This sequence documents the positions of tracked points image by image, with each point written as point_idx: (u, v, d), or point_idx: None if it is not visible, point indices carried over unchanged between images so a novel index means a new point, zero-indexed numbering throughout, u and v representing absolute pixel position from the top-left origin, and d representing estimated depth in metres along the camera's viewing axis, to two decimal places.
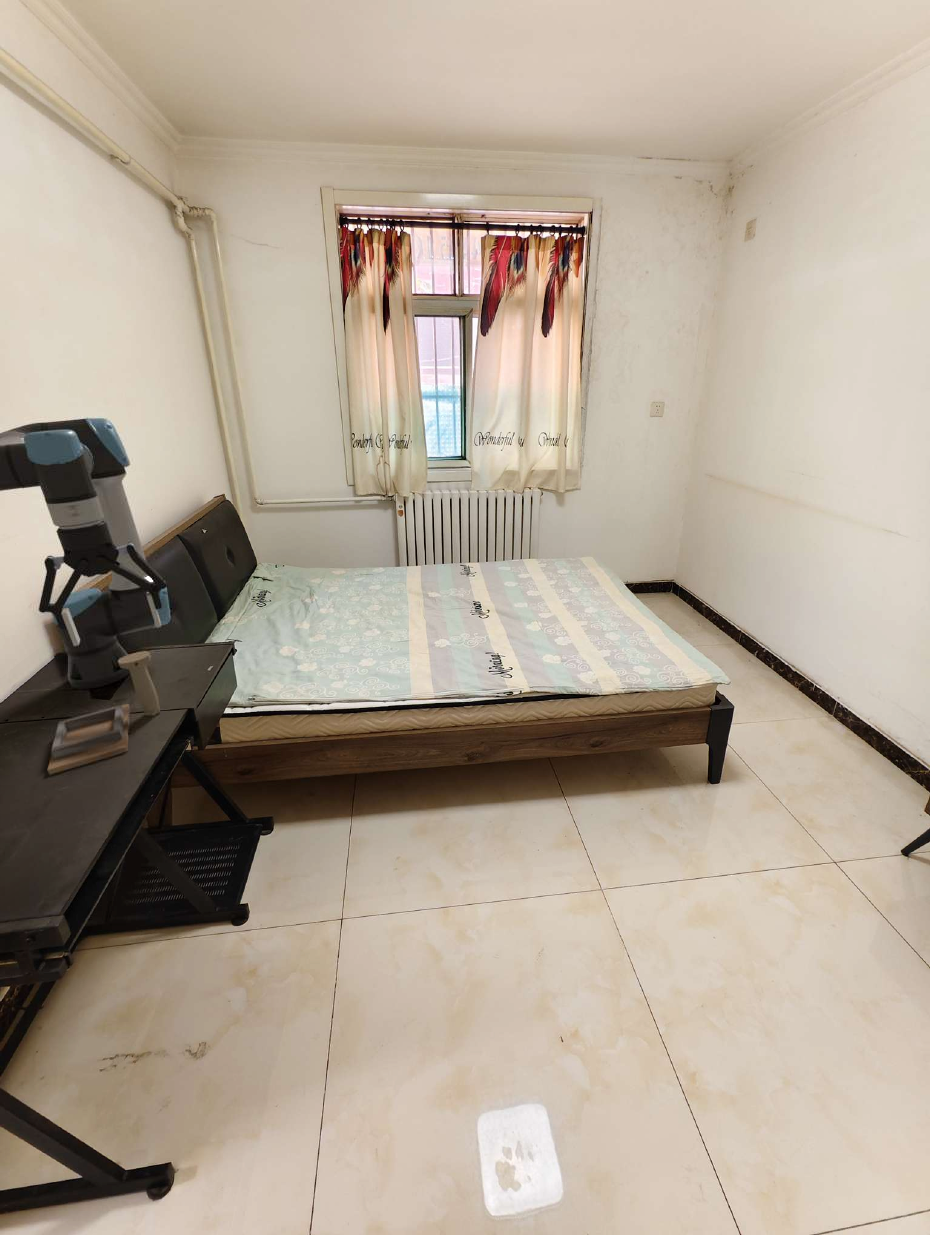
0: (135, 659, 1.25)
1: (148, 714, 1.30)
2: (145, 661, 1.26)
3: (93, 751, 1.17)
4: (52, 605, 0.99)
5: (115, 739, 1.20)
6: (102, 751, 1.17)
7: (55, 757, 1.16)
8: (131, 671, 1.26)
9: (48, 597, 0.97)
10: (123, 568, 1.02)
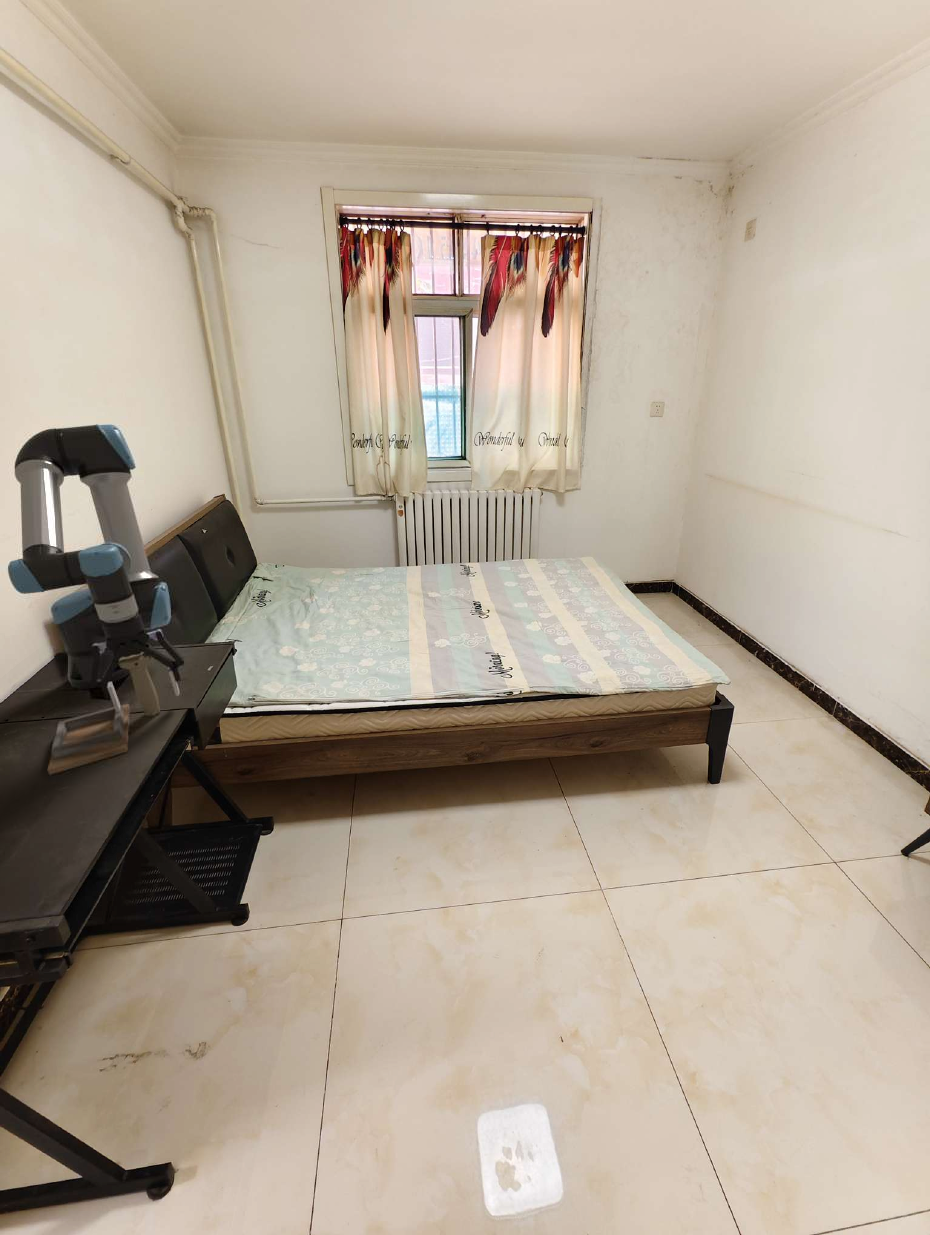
0: (135, 659, 1.25)
1: (148, 714, 1.30)
2: (145, 661, 1.26)
3: (93, 751, 1.17)
4: (100, 681, 1.24)
5: (115, 739, 1.20)
6: (102, 751, 1.17)
7: (55, 757, 1.16)
8: (131, 671, 1.26)
9: (96, 675, 1.22)
10: (152, 649, 1.27)
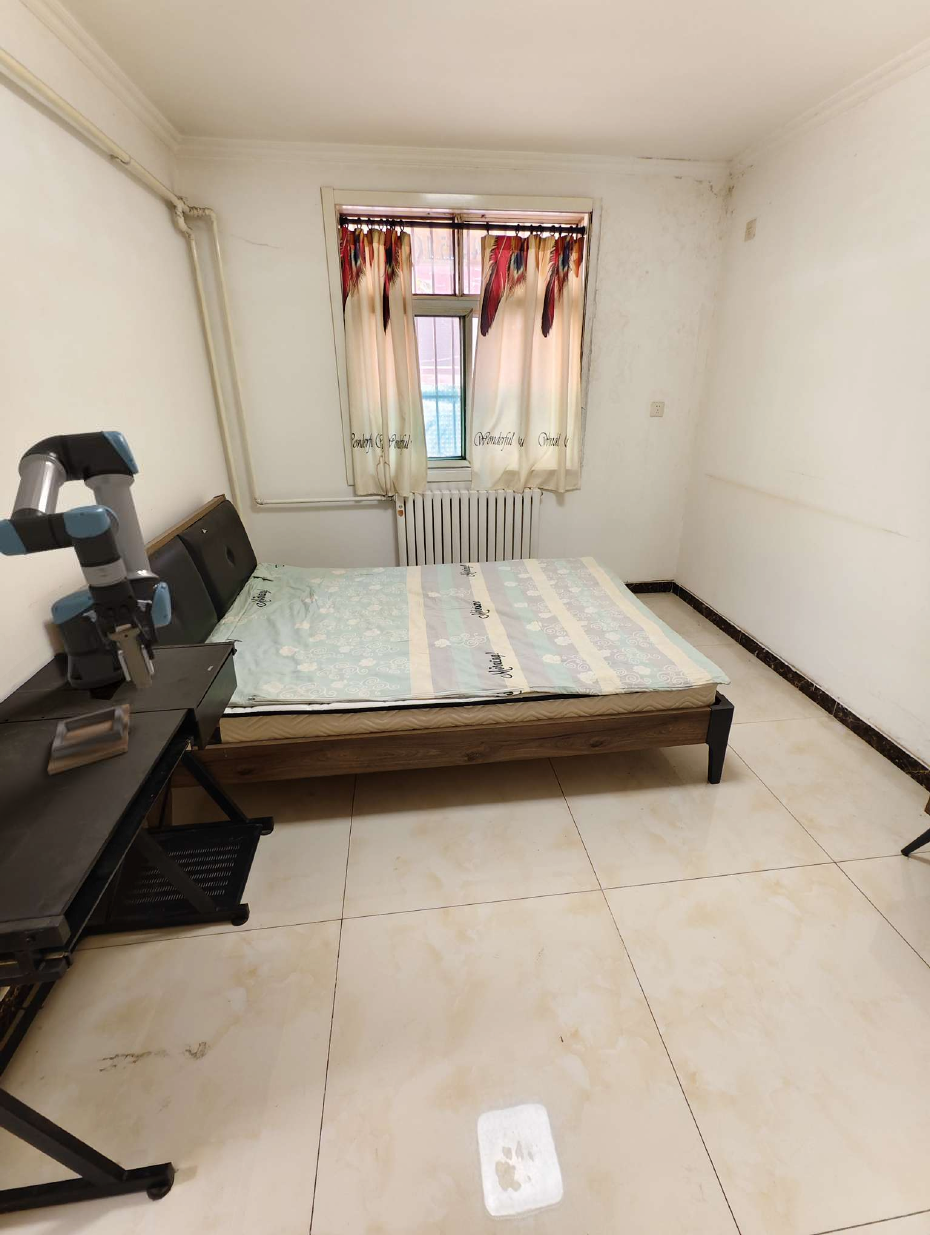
0: (125, 631, 1.22)
1: (140, 687, 1.28)
2: (135, 633, 1.23)
3: (93, 751, 1.17)
4: None
5: (115, 739, 1.20)
6: (102, 751, 1.17)
7: (55, 757, 1.16)
8: (121, 643, 1.23)
9: (102, 643, 1.21)
10: (135, 620, 1.23)
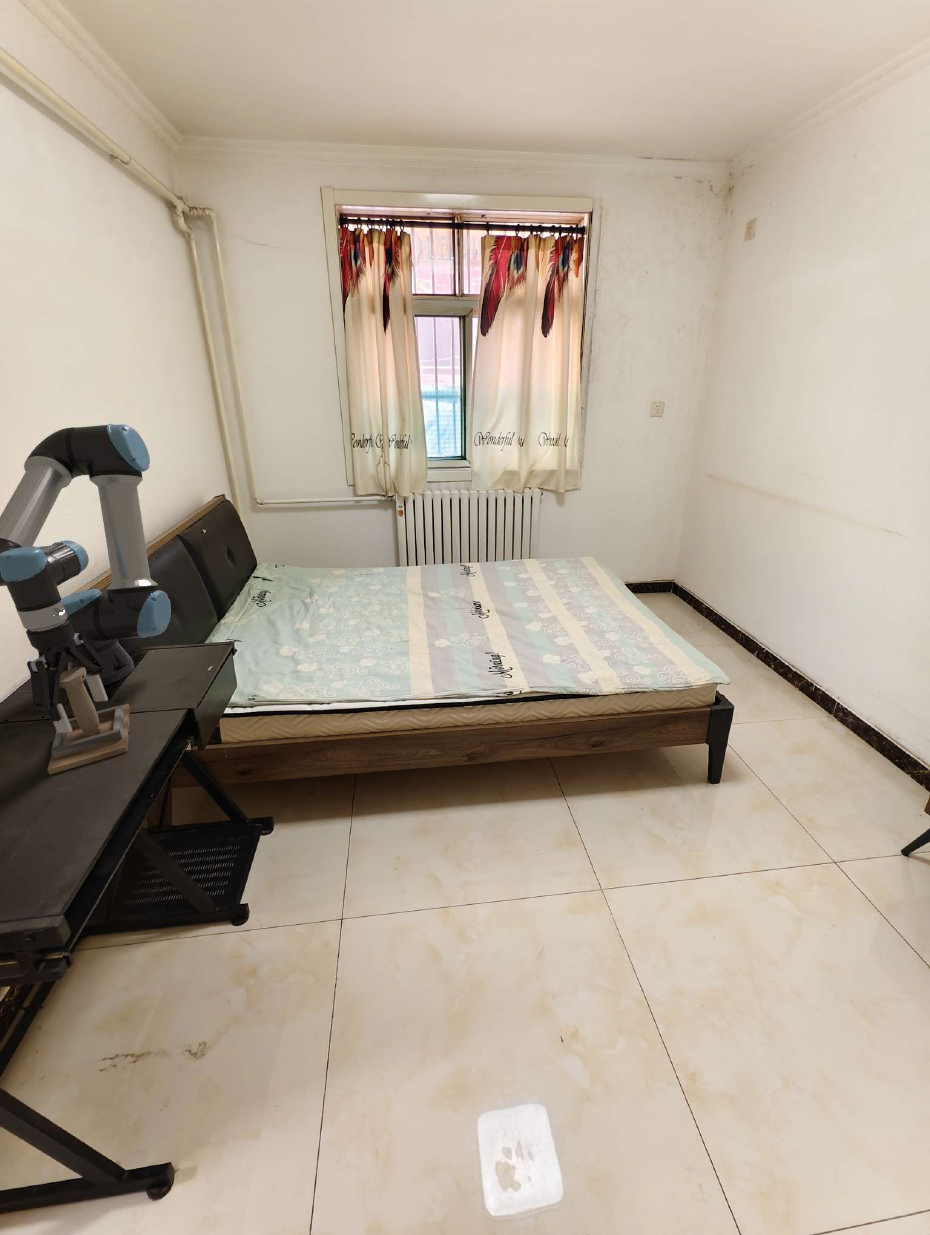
0: (77, 673, 1.18)
1: (95, 733, 1.22)
2: (85, 673, 1.20)
3: (93, 751, 1.17)
4: None
5: (115, 739, 1.20)
6: (102, 751, 1.17)
7: (55, 757, 1.16)
8: (75, 688, 1.17)
9: (48, 694, 1.10)
10: None
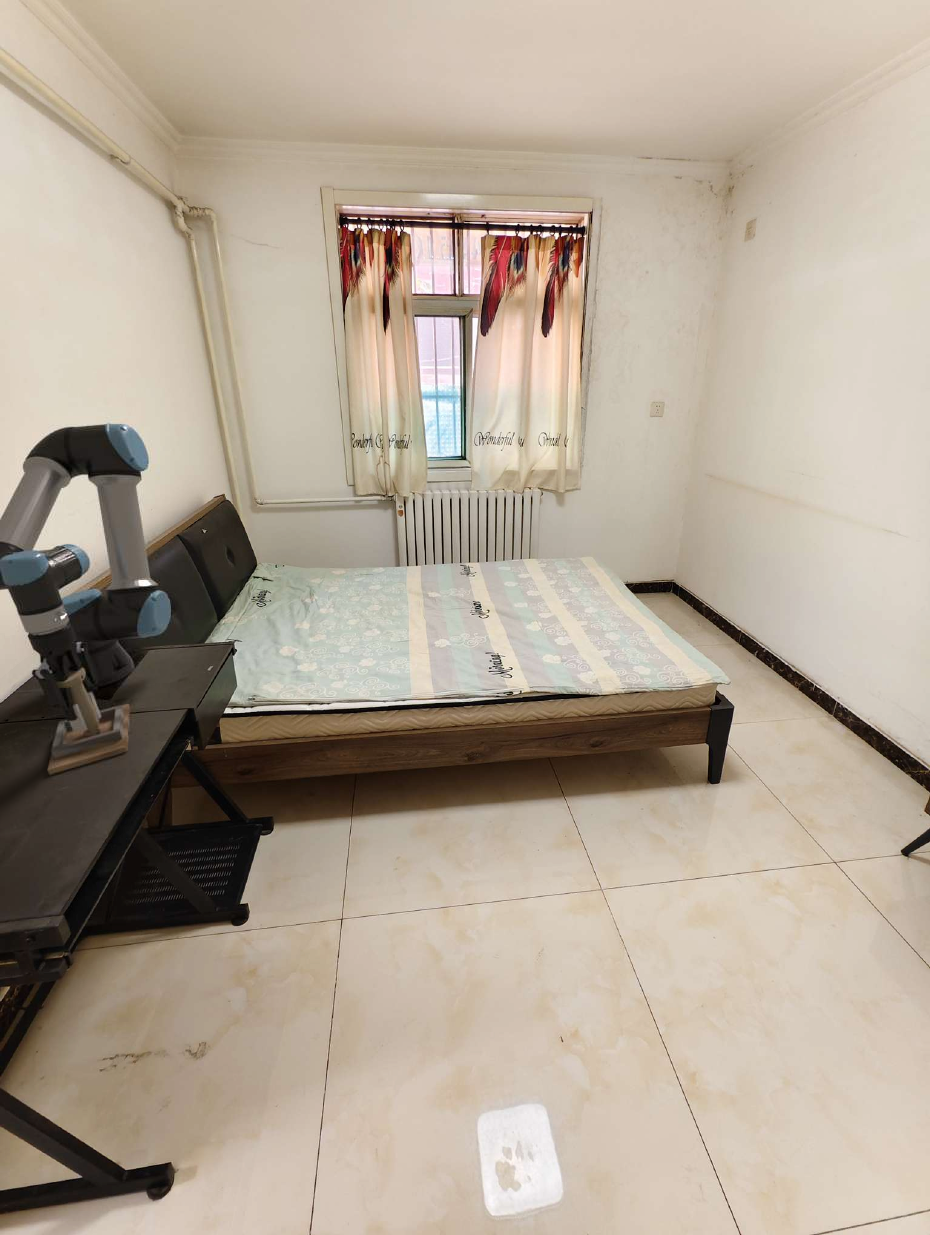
0: (76, 673, 1.17)
1: (95, 733, 1.22)
2: None
3: (93, 751, 1.17)
4: None
5: (115, 739, 1.20)
6: (102, 751, 1.17)
7: (55, 757, 1.16)
8: (74, 689, 1.17)
9: (61, 695, 1.14)
10: None
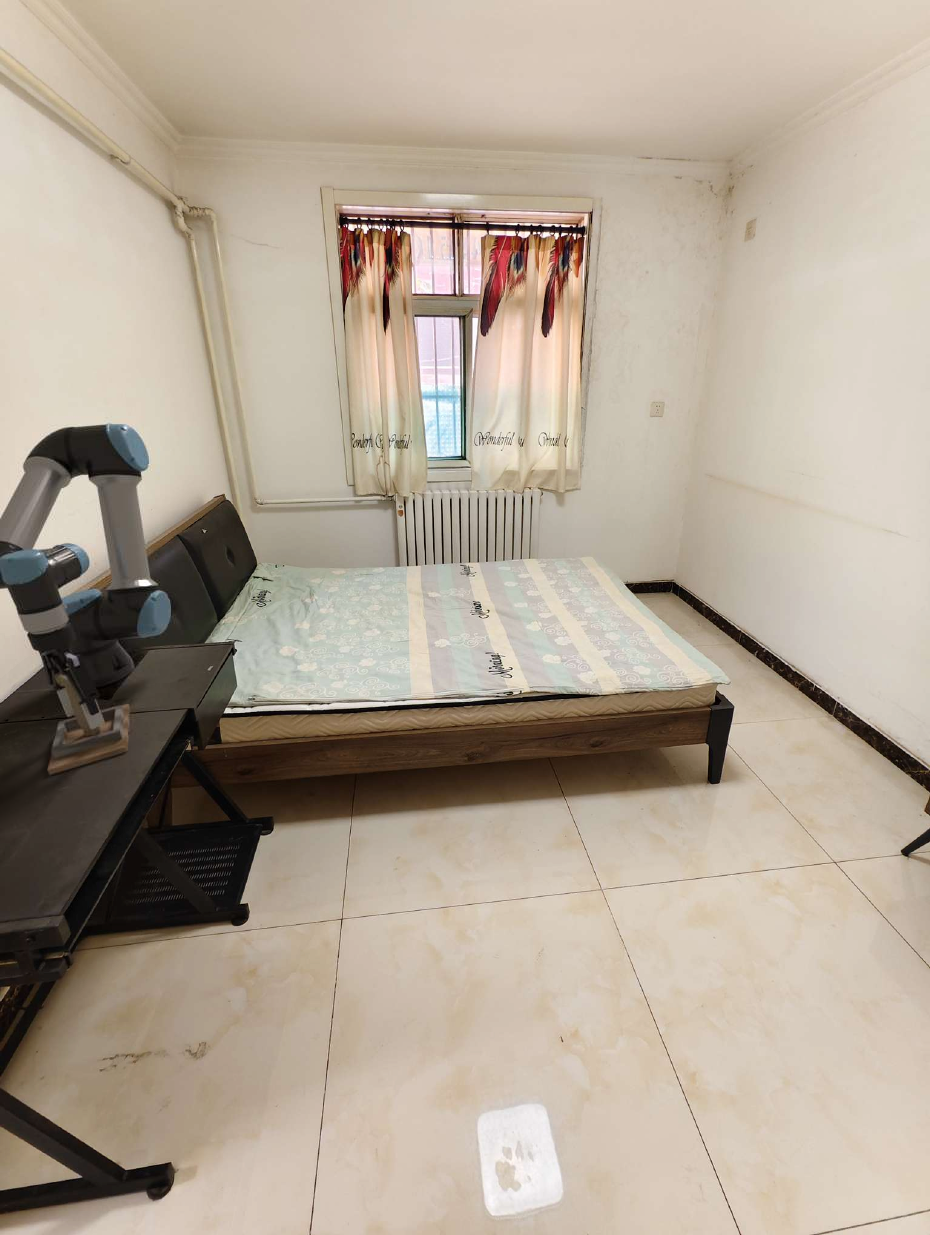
0: None
1: (99, 728, 1.24)
2: None
3: (93, 751, 1.17)
4: None
5: (115, 739, 1.20)
6: (102, 751, 1.17)
7: (55, 757, 1.16)
8: None
9: None
10: None
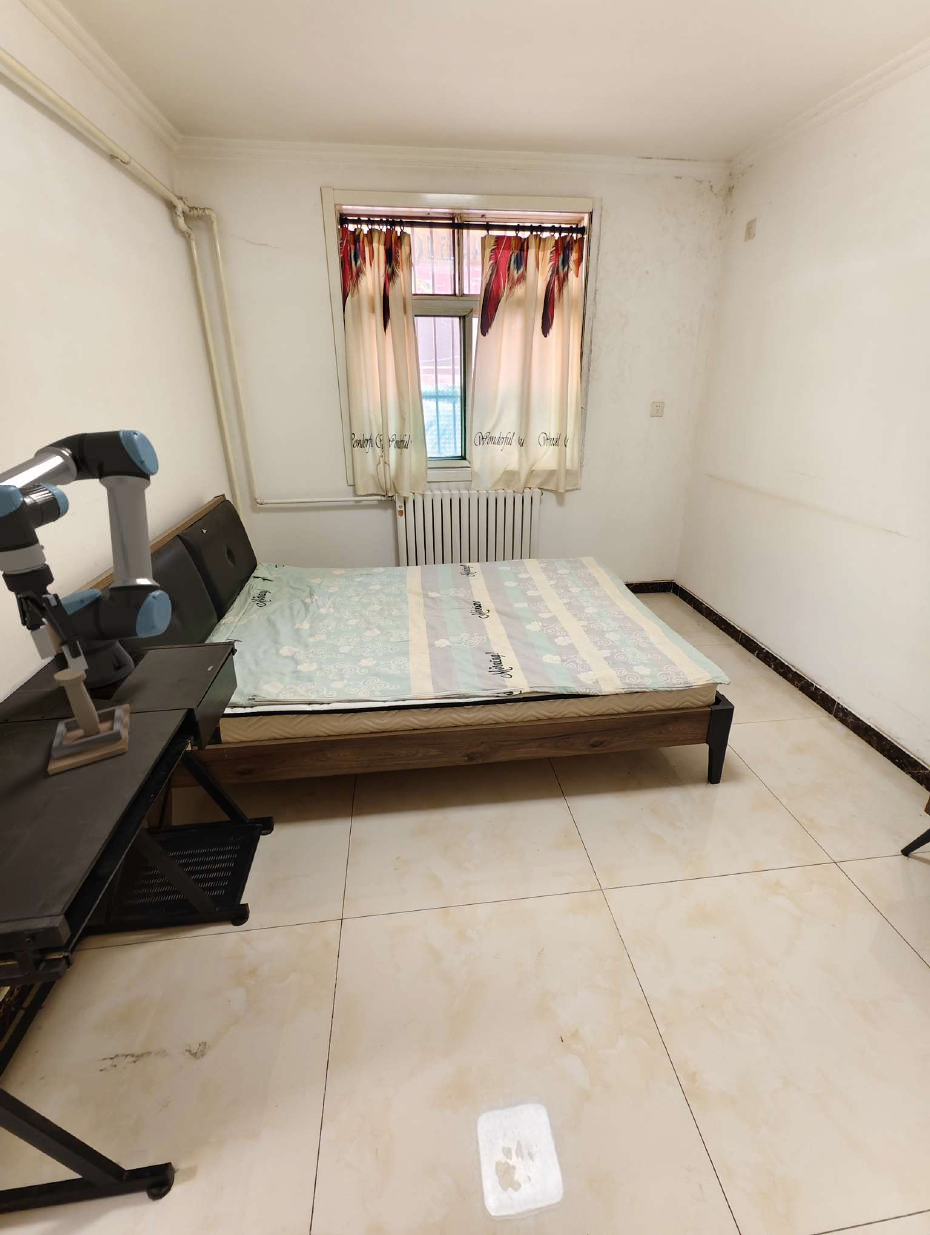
0: None
1: (99, 728, 1.24)
2: None
3: (93, 751, 1.17)
4: None
5: (115, 739, 1.20)
6: (102, 751, 1.17)
7: (55, 757, 1.16)
8: (82, 684, 1.19)
9: None
10: None
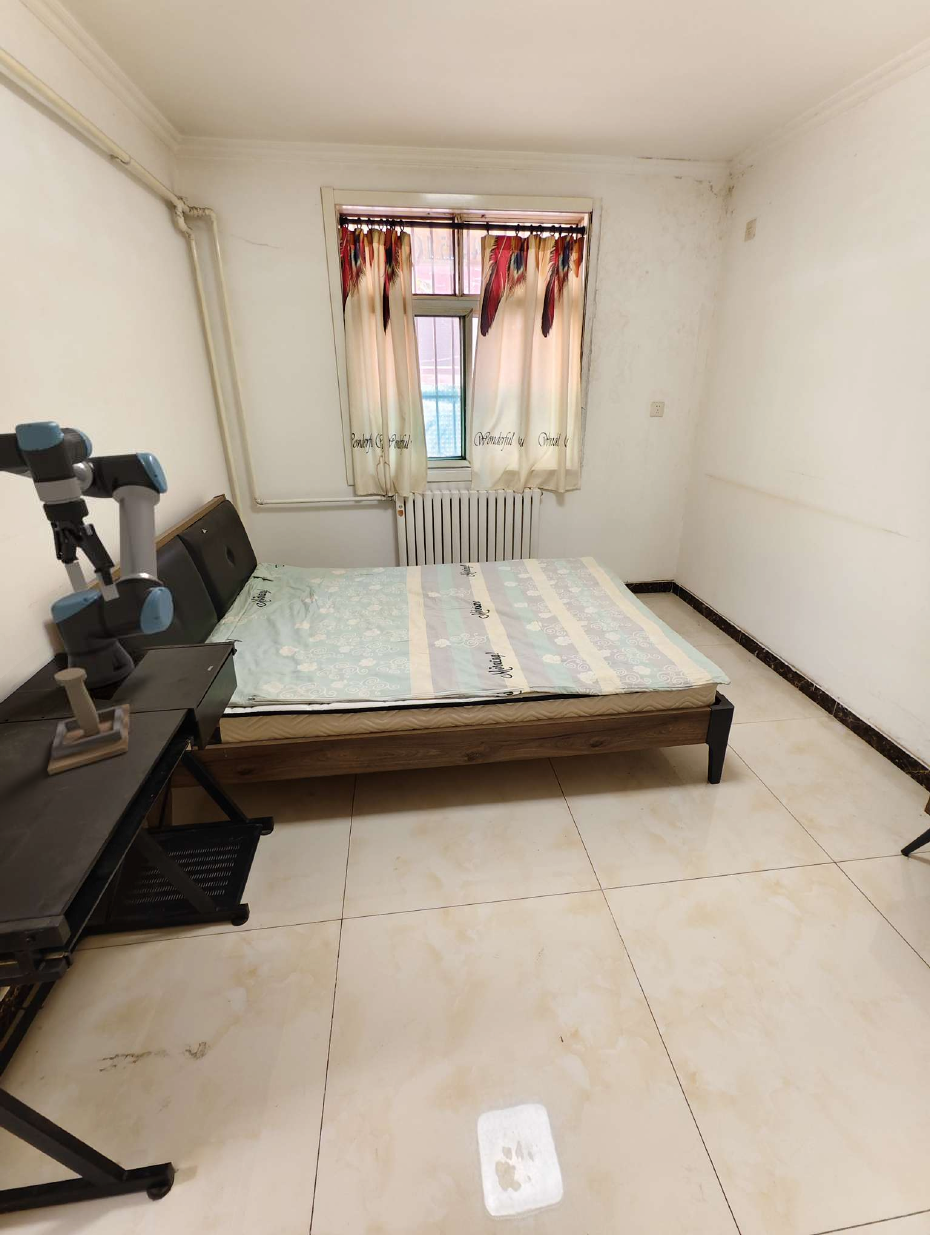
0: (76, 670, 1.19)
1: (99, 728, 1.24)
2: None
3: (93, 751, 1.17)
4: (105, 564, 1.18)
5: (115, 739, 1.20)
6: (102, 751, 1.17)
7: (55, 757, 1.16)
8: (82, 684, 1.19)
9: None
10: None
